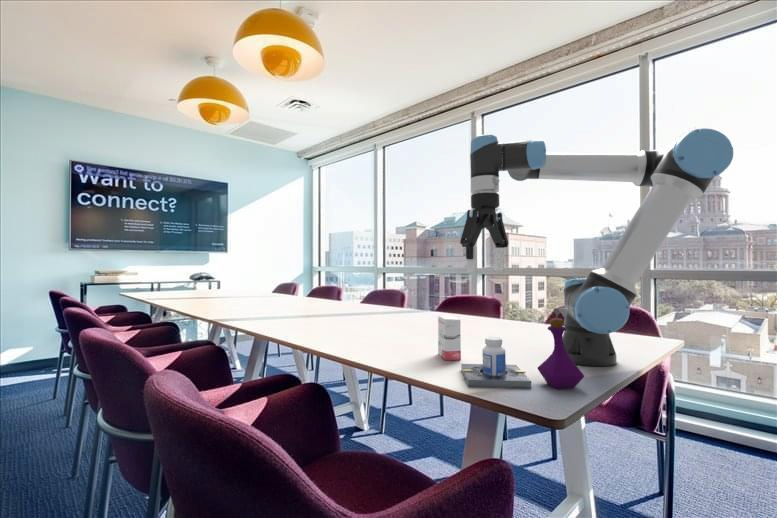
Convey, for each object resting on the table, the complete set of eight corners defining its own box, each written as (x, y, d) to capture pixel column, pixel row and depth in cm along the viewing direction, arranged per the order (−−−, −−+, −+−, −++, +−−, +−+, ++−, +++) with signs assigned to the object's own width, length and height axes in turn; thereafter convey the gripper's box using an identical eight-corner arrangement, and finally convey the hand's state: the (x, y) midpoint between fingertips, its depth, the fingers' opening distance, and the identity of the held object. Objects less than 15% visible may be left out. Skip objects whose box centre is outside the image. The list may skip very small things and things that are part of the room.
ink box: (461, 360, 116) (461, 319, 116) (444, 360, 116) (444, 319, 116) (453, 353, 125) (453, 314, 125) (437, 353, 125) (437, 315, 124)
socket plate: (517, 370, 105) (517, 363, 105) (533, 388, 91) (533, 379, 91) (459, 369, 106) (459, 362, 106) (466, 386, 92) (466, 378, 92)
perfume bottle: (536, 381, 96) (536, 305, 96) (567, 380, 97) (567, 305, 97) (552, 391, 89) (552, 309, 89) (585, 390, 90) (585, 309, 90)
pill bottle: (504, 376, 101) (505, 336, 101) (506, 382, 96) (506, 341, 96) (482, 374, 102) (482, 335, 102) (482, 381, 97) (482, 340, 97)
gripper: (470, 186, 100) (471, 272, 100) (520, 196, 118) (521, 270, 117) (445, 190, 105) (447, 272, 105) (496, 199, 123) (497, 269, 123)
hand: (486, 271), depth 111 cm, fingers open, 13 cm apart
